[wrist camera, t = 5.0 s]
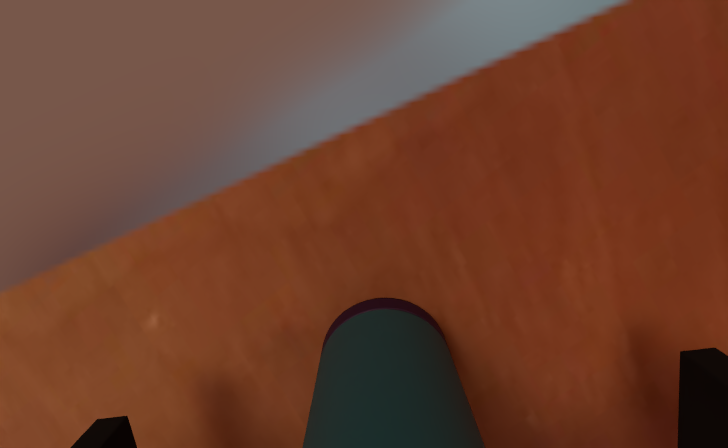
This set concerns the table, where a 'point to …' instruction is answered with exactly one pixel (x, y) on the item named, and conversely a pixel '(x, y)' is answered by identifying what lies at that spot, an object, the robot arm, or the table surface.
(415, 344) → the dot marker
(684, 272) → the table surface
